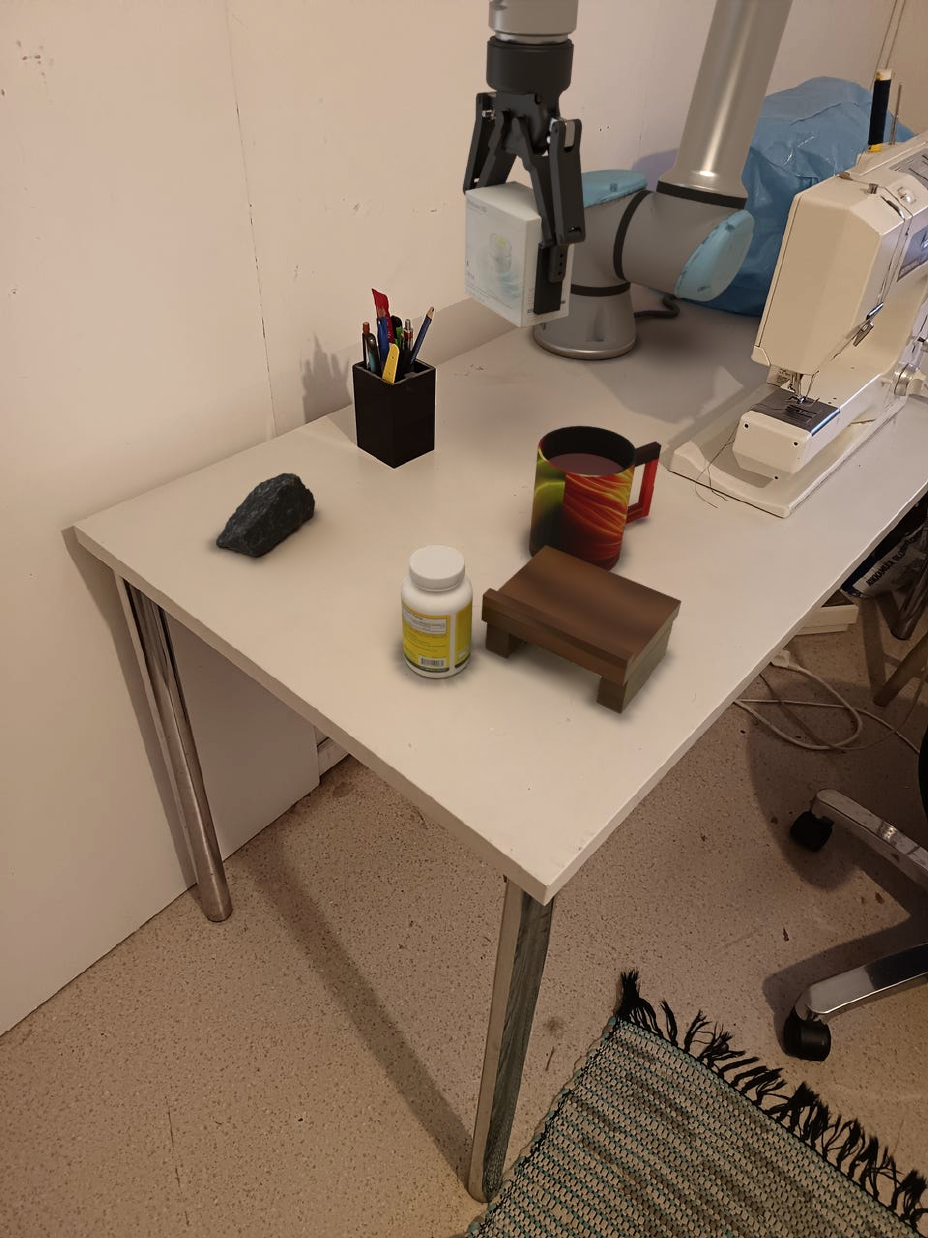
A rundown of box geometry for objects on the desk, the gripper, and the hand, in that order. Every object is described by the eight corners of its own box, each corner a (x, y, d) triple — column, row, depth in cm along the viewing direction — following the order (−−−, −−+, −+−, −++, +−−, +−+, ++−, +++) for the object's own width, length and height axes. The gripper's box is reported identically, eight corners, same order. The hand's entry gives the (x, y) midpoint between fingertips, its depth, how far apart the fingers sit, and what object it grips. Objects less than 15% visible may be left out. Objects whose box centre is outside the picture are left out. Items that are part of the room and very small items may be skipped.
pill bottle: (452, 626, 83) (454, 531, 76) (482, 667, 79) (487, 571, 72) (392, 645, 81) (388, 549, 74) (420, 689, 77) (419, 592, 70)
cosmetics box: (460, 294, 92) (462, 187, 86) (510, 283, 95) (516, 178, 88) (518, 330, 86) (526, 217, 79) (570, 317, 89) (581, 207, 82)
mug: (648, 522, 97) (667, 425, 89) (597, 589, 88) (614, 487, 80) (569, 496, 101) (581, 400, 93) (513, 558, 92) (520, 457, 84)
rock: (206, 546, 92) (196, 499, 88) (264, 498, 99) (257, 453, 95) (262, 565, 89) (254, 518, 86) (317, 515, 96) (312, 469, 93)
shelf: (540, 593, 87) (546, 534, 83) (669, 650, 81) (684, 590, 77) (479, 654, 80) (482, 594, 76) (615, 721, 75) (628, 660, 70)
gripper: (428, 18, 81) (429, 261, 96) (574, 61, 66) (549, 341, 81) (496, 14, 84) (487, 251, 98) (651, 54, 69) (613, 325, 84)
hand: (515, 291), depth 90 cm, fingers closed on cosmetics box, 11 cm apart
